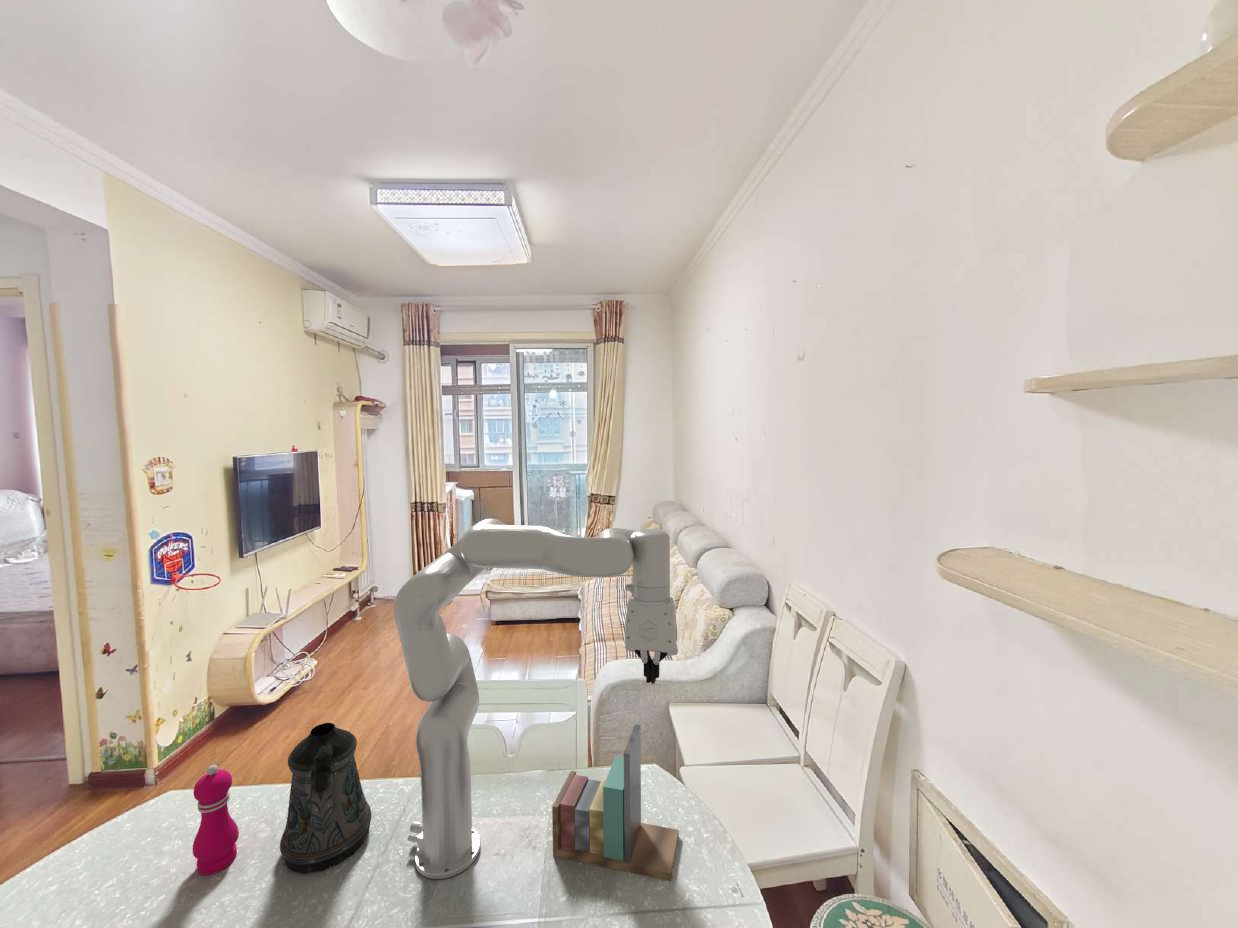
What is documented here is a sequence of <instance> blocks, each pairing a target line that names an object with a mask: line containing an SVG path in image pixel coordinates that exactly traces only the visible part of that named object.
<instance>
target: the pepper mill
mask: <svg viewBox="0 0 1238 928" xmlns="http://www.w3.org/2000/svg"><path fill="white" fill-rule="evenodd" d="M232 784H233V777H232V774H231V772H229V771H228V770H225V769H221V768H220V769H219V767H218V765H216V764H212V765H210V766H209V767H208V768H207V769H206V773H205V774H204V775H202V776H200V778H199V779H198V780H197V781H196V783H195V785H194V787H193V792H192V793H193V798H194V799H195V800H196V801H197V804H196V805H197V811H198V813H200V815H201V817H200V825H199V828H198V830H197V833H196V834H195V837H194V840H193V843H192V856H193V857H194V858H195V859H196V872H197V873H198V875H200V876H201V875H202V876H209V875H213V874H215V873H218V872H220V871H222V870H224V869H226V868H227V867H228V866H230V865H231V864H232V863H233V862H234V860H235V859H236V858H237V855H238V854H237V853H238V849H237V844H236V843H237V841H238V839H239V836H240V831H239V827H238V825H237V823H236V821H235V820H234V819H233V818H232V816H231V815H230V813H229V812H230V811H229V809H228V808H229V807H228V803H229V801H230V799H231V796H230V795H231V792H230V789H231V788H232V787H231V786H232Z"/></svg>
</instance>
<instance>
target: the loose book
mask: <svg viewBox="0 0 1238 928" xmlns="http://www.w3.org/2000/svg"><path fill="white" fill-rule="evenodd" d="M605 780H606V781H605V783H604V786H603V827H604V857H605V858H610V859H615V860H620V861H624V858H625V857H624V755H623V756H622V755H615V756H614V759H613V761H612V764H611V766H610V769H609V771H608V774H607V776H606V779H605Z"/></svg>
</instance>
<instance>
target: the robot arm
mask: <svg viewBox="0 0 1238 928" xmlns="http://www.w3.org/2000/svg"><path fill="white" fill-rule="evenodd" d="M670 543H671V540H670V535H669V534H668V532H666V531H664V530H661V529H655V528H650V529H640V530H634V529H627V528H625V529H624V528H621V527H620V528H619V527H609V528H605V529H603V530H601V531H600V533H598V534H597V536H596V537H589V536H588V537H587V536H583V537H582V536H574V535H573V536H572V535H568V534H564V533H561V532H559V531H557V530H555V529H553V528H551V527H549V526H545V525H524V524H523V525H521V524H520V525H519V524H518V525H517V524H516V525H515V524H506V523H504V522H503V521H502V520H500V519H497V518H485V519H483V520H482V519H481V520H480V521H478V522H477V523H475V524H474V525H472V526H471V527H469V528H468V529H467V530H466V531H465V532H464V534H463V536H462V537H461V538H459V540H457V541H456V542H455V543H454V544H453V545H452V546H450V547H449V548H448V549H447V550H446V551H444V552H443V553H442V554H441V555H439V556H438V557H437V558H436V559H434V560H433V561H432V562H430V563H428V564H427V565H425V566H424V567H422V568H421V569H420V570H419V571H418V572H417V573H415V574H414V575H413V576H411V577H410V578H409V579H408V580H407V581H406V582H405V583H404V584H403V585H402V586H401V588H400V589H399V590H398V592H397V594H396V596H395V599H394V601H393V602H394V603H393V617H394V623H395V626H396V630H397V632H398V636H399V639H400V645H401V648H402V654H403V658H404V663H405V666H406V667H405V668H406V671H407V676H408V681H409V685H410V688H411V690H412V692H413V694H414V695H415V696H416V697H417V699H419V700H421V701H423V702H426V703H427V702H430V704H429V705H428V707H427V708H426V709H425V712H424V713H423V715H422V717H421V718H420V721H419V723H418V724H417V725H418V726H417V728H416V733H415V734H416V735H415V745H416V750H417V751H416V752H417V755H418V760H419V770H420V771H419V772H420V787H421V789H420V790H421V793H420V794H421V821H417V820H416V821H415V820H414V821H412V823H411V824H410V827H409V832H410V833H409V834H408V836H407V842H412V843H416V844H417V849H416V851H415V855H414V864H415V865H414V866H415V867H416V868H415V869H416V870H417V872H418V873H419V874H420V875H421V876H423V877H425V878H428V879H432V880H442V879H443V880H444V879H448V878H451V877H454V876H457V875H458V874H460V873H462V872H464V871H466V869H468V868H469V867H470V866H471V865H472V864H473V863H474V862H475V861H476V859H477V858H478V855H479V853H480V850H481V838H480V837H481V836H480V834H479V832H478V831H477V830H476V829H475V828H473V814H472V809H473V806H472V775H471V774H472V773H471V756H470V751H469V747H468V737H469V732H470V729H471V726H472V724H473V722H474V719H475V718H476V714H477V712H478V709H479V706H480V692H479V687H478V682H477V680H476V674H475V671H474V666H473V661H472V657H471V653H470V650H469V648H468V646H467V644H466V642H465V641H464V640H463V639H462V638H461V637H460V636H458V635H456V634H453V633H449V632H448V633H447V629H446V625H445V622H444V619H443V618H442V616H441V614H440V612H441V610H442V608H444V607H445V606H447V605H448V604H449V603H451V602H452V601H454V599H455V598H456V597H457V596H458V595H459V594H460V593H461V592H462V591H463V590H464V589H465V587H466V586H467V585H468V584H470V583H471V582H472V581H473V580H474V579H475V578H476V577H477V576H479V575H480V574H481V573H482V572H483V571H485V570H486V569H525V570H543V571H547V572H550V573H557V574H561V575H566V576H570V577H582V578H615V577H619V576H621V575H623V574H625V573H627V571H629V570H630V568H631V567H632V582H631V583H628V584H627V583H626V584H625V591H626V592H630V593H631V595H630V596H629V598H628V601H627V606H626V613H625V627H624V644H625V647H624V648H625V650H626V651H629V652H631V653H635V654H636V655H637V656H638V658H639V659H640V661H641V662H642V663H643V677H645V679H646V681H645V682H646V684H650V683H651V685H652V684H655V683H656V680H657V679H659V678H660V662H662V661H663V660H664V659H665V658H666V657H671V656H677V655H678V654H679V653H678V652H679V648H678V644H677V641H678V628H677V627H678V625H677V613H676V607H675V602H674V601H675V600H674V597H672V596H671V585H670V584H671V544H670ZM650 652H653V653H654V654H653V658H652V656H651V654H650Z"/></svg>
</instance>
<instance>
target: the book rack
mask: <svg viewBox="0 0 1238 928" xmlns="http://www.w3.org/2000/svg"><path fill="white" fill-rule="evenodd" d="M605 781H606V779H603V778H602V779H601V780H597V779H596V780H594V779H589V776H585V775H579V774H577V771H575V770H574V771H573V770H570V772H569V773H568V775H567V777H566V779H565V781H564V783H563V785H562V787H561V789H560V791H559V793H558V794H557V796H556V798H555V800H554V802H553V804H552V806H551V807H552V808H551V811H552V812H551V813H552V814H551V815H552V856H553V857H555V858H561V859H565V860H570V861H575V862H578V863H579V862H580V863H583V864H587V865H593V866H597V867H603V868H607V869H611V870H615V871H622V872H627V873H631V874H635V875H639V876H646V877H650V878H654V879H658V880H662V881H668V882H671V881H672V878H673V871H674V865H675V860H676V854H677V849H678V843H679V838H680V837H679V833H680V830H679V829H675V828H671V827H666V826H661V825H660V826H659V825H654V824H651V823H646V822H645V823H644V822H641V825H640V829H639V832H638V836H637V840H636V843H635V847H634V851H633V854H632V858H631V862H630V861H625V858H624V861H620V860H615V859H610V858H605V857H604V827H603V786H604V783H605Z"/></svg>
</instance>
